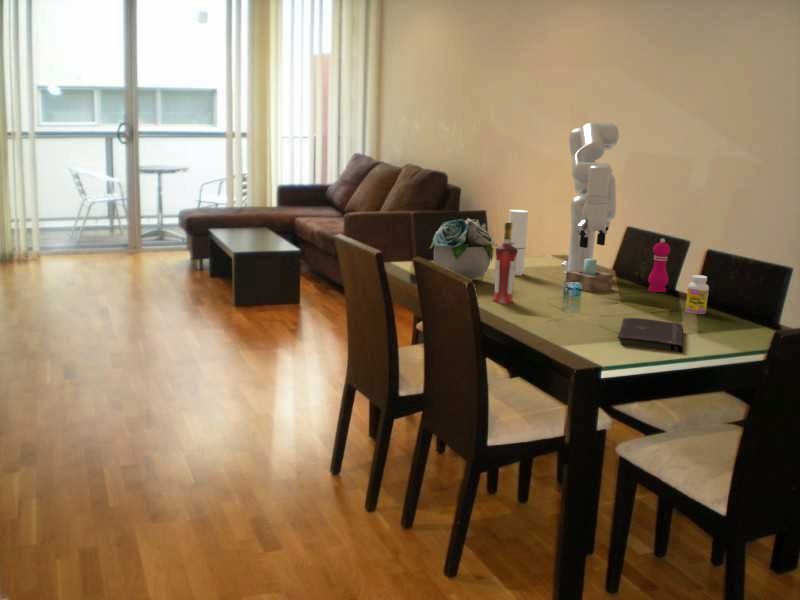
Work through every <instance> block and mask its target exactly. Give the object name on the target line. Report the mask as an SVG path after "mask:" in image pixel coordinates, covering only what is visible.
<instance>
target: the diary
mask: <svg viewBox="0 0 800 600" xmlns="http://www.w3.org/2000/svg"><path fill="white" fill-rule="evenodd" d="M617 334H618V336H617V339H619V340H620V342H619V343H620V345H621V346H624V347H625V346H627V347H636V348H642V349H643V348H645V349H650V350H651V349H652V350H661V351H670V352H671V351H672V348H674V349H673V350H674V352H679V346H680V353H682V354H684V350H685V349H684V328H683V324H682V323H678V322H669V321H663V320H658V319H657V320H656V319H655V320H654V319H648V318H638V317H637V318H636V317H623V318H622V322H621V326H620V329H619V332H618V333H617Z"/></svg>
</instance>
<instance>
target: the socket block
mask: <svg viewBox="0 0 800 600" xmlns="http://www.w3.org/2000/svg"><path fill="white" fill-rule="evenodd" d="M583 272H584V269H582V270H575V271H568V272H567V273H566V274H565V275H566V276H565V283H566V282H579V283H581V285H582V290H581V291H584V292H588V293H596V292H603V291H611V290H612V288H613V282H614V281H613V280H614V278H613V277H614V274H613V273H609V272H603V271H600V270H596V274H595V275H587V274H583Z"/></svg>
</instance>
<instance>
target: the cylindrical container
mask: <svg viewBox="0 0 800 600" xmlns="http://www.w3.org/2000/svg"><path fill="white" fill-rule="evenodd" d="M508 215H509V217H508V222H513V224H512V230H511V246H513V247H515V248H516V249H517V250H518V252H517V260H516V269H515V276H523V275H524V273H525V271H524V270H525V257H526V247H527V246H526V245H527V231H528V221H529V220H528V218H529V211H528V210H524V209H509V214H508ZM522 274H523V275H522Z"/></svg>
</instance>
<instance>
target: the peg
mask: <svg viewBox="0 0 800 600" xmlns="http://www.w3.org/2000/svg"><path fill="white" fill-rule="evenodd" d="M596 271H597V259H596V258H595V259H594V258H593V259H585V260H584V272H583V274H587V275H595V274H596Z"/></svg>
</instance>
